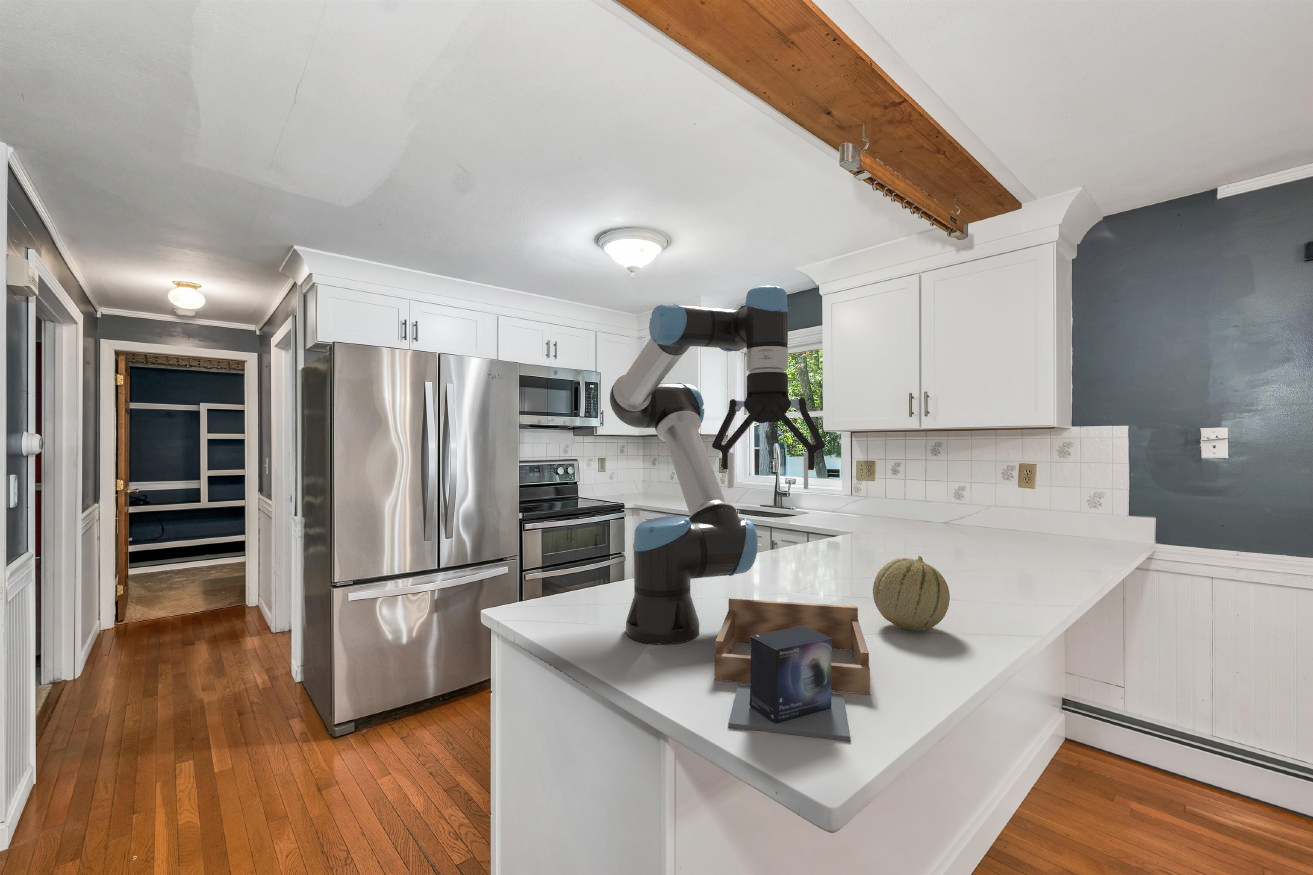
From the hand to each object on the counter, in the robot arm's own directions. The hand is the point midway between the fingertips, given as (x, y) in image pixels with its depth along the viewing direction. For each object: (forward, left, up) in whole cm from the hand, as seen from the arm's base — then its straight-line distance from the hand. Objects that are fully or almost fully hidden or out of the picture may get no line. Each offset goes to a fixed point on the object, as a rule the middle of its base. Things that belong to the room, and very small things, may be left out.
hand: (767, 488), depth 107 cm
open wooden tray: (+4, -3, -31) cm, 31 cm away
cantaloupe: (+28, +22, -31) cm, 47 cm away
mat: (+4, -22, -31) cm, 38 cm away
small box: (+4, -22, -30) cm, 38 cm away
